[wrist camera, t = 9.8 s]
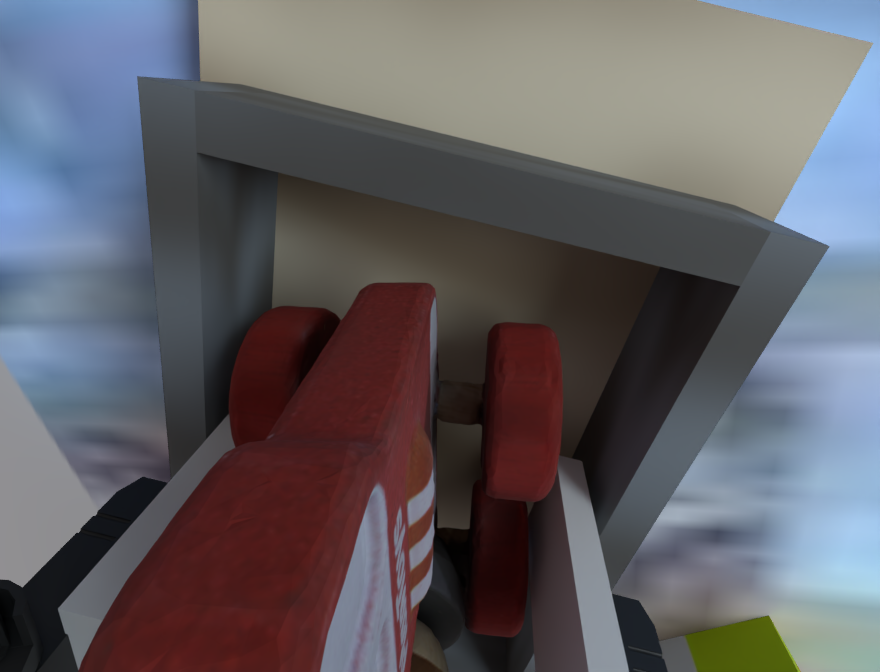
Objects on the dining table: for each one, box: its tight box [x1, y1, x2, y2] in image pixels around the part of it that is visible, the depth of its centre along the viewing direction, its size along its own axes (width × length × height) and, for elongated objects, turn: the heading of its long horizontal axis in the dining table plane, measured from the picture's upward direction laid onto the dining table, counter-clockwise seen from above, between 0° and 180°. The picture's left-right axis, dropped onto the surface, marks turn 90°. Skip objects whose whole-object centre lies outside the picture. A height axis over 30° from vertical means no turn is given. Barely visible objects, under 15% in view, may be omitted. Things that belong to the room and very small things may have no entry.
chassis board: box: [137, 0, 873, 672], centre depth 14 cm, size 24×14×4 cm, turn 168°
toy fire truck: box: [78, 282, 563, 672], centre depth 10 cm, size 7×12×10 cm, turn 178°
